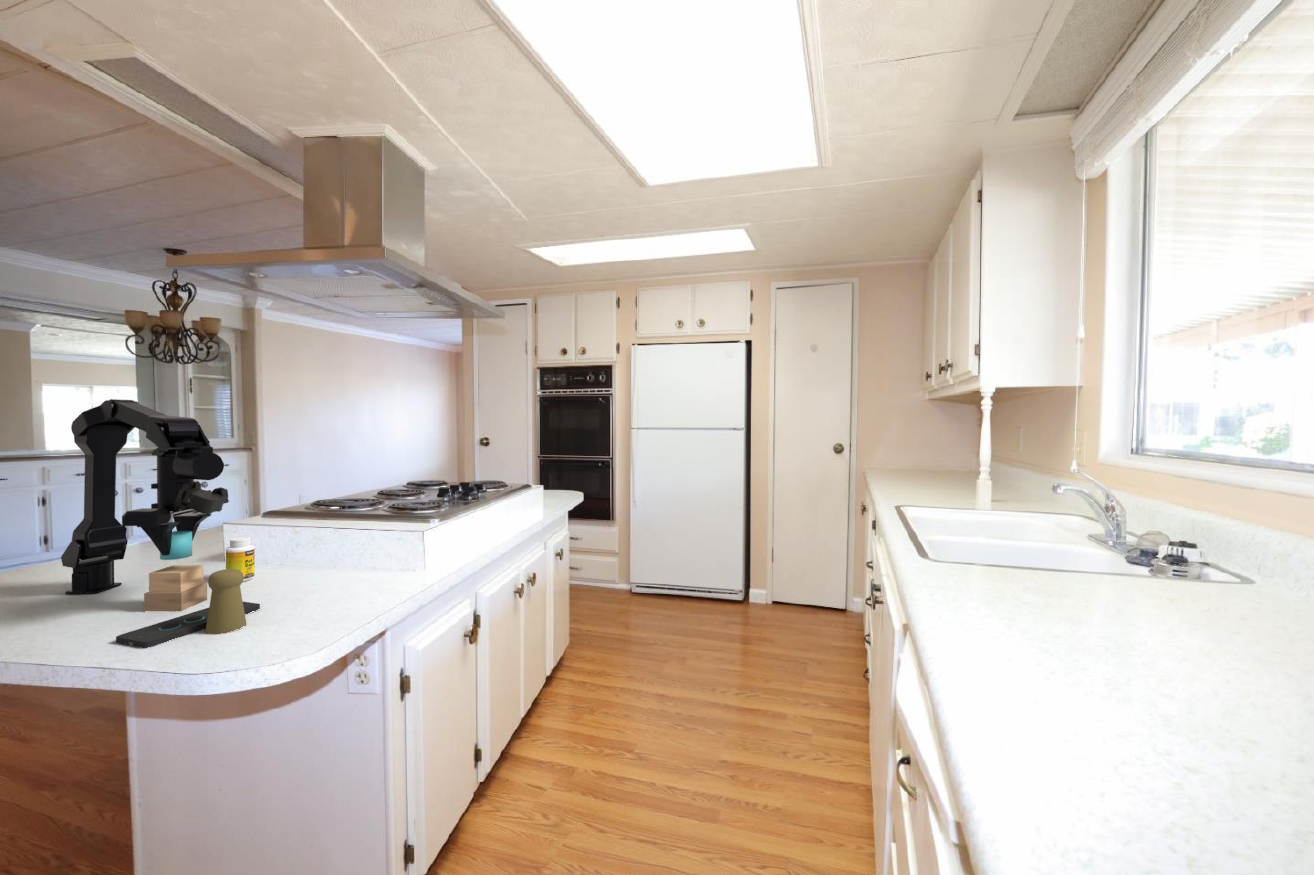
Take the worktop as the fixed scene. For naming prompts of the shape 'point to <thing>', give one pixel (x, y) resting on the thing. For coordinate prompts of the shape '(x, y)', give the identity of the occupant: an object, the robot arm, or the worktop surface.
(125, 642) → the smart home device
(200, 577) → the oak top block
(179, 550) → the teal cylinder
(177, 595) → the brown wooden base block
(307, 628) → the worktop surface
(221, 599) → the olive pawn piece
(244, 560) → the supplement bottle
